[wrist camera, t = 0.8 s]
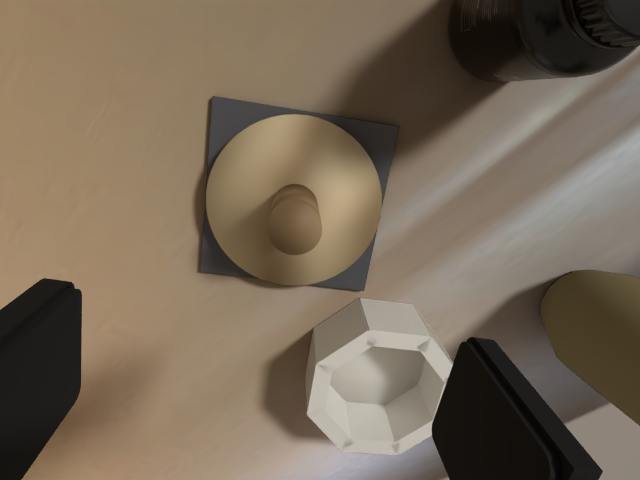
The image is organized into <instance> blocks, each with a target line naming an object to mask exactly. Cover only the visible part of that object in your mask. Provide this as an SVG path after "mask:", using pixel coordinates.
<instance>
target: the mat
mask: <svg viewBox="0 0 640 480" xmlns="http://www.w3.org/2000/svg"><path fill="white" fill-rule="evenodd" d="M284 114H301V115H309V116H313V117H318V118H321V119H323V120H326V121H329V122H331V123H333V124H335V125H336V126H338V127H340V128H342V129H343V130H344V131H346V132H347V133H348V134H350V135H351V136H352V137H353V138H354V139H355V140H356V141H357V142H358V143H359V144H360V145H361V146H362V147H363V149H364V150H365V151H366V152H367V154H368V155H369V157H370V159H371V161H372V162H373V164H374V167H375V169H376V171H377V174H378V178H379V181H380V185H381V193H382V204H383V199H384V194H385V190H386V185H387V180H388V176H389V171H390V166H391V162H392V157H393V152H394V148H395V143H396V138H397V134H398V129H399V127H398V126H393V125H387V124H380V123H374V122H368V121H362V120H356V119H350V118H344V117H338V116H332V115H325V114H319V113H313V112H307V111H301V110H295V109H289V108H283V107H277V106H270V105H264V104H258V103H252V102H246V101H240V100H234V99H228V98H222V97H215V96H212V111H211V125H210V140H209V154H208V169H207V183H208V179H209V176H210V172H211V170H212V168H213V165H214V163H215V161H216V159H217V158H218V156H219V154H220V153H221V151H222V150H223V149H224V147H225V146H226V145H227V144H228V143H229V142H230V141H231V140H232V139H233V138H234V137H235V136H236V135H237V134H238V133H240V132H241V131H243V130H244V129H246V128H247V127H249V126H250V125H252V124H254V123H256V122H258V121H260V120H263V119H266V118H269V117H273V116H278V115H284ZM207 183H206V191H207ZM376 232H377V230H376ZM376 232H375V235H374V237H373V239H372V241H371V242H370V244H369V246H368V248H367V249H366V250H365V251H364V253H363V254H362V255H361V256H360V257H359V258H358V259H357V260H356V261H355V262H354V263H353V264H352V265H351V266H350V267H348V268H347V269H346V270H344V271H343V272H341V273H339V274H338V275H336V276H334V277H332V278H329V279H327V280H324V281H321V282H318V283H313V284H308V285H317V286H325V287H333V288H342V289H350V290H358V291H364V288H365V283H366V279H367V274H368V269H369V265H370V260H371V255H372V251H373V246H374V241H375V236H376ZM200 272H208V273H216V274H225V275H233V276H241V277H250V278H257V277H255V276H253V275H251V274H249V273H248V272H246V271H244V270H243V269H242V268H240V267H239V266H238V265H236V264H235V263H234V262H233V261H232V260H231V259H230V258H229V257H228V256H227V255H226V253H225V252H224V251H223V250H222V248H221V247H220V245H219V244H218V242H217V240H216V238H215V237H214V234H213V232H212V229H211V227H210V224H209V220H208V216H207V209H206V198H205V212H204V226H203V241H202V255H201V270H200ZM258 279H260V278H258Z"/></svg>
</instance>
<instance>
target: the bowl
mask: <svg viewBox="0 0 640 480" xmlns="http://www.w3.org/2000/svg"><path fill="white" fill-rule="evenodd" d="M452 366H453V361H452V360H451V358H450V356H449V355H448V353H447V351H446V349H445V348H444V346H443V344H442V343H441V341H440V340H439V338H438V337H437V336H436V334H435V333H434V332H433V330H432V329H431V327H430V326H429V325H428V323H427V322H426V321H425V319H424V318H423V317H422V315H421V314H420V312H419V311H418V310H417V308H416V307H415V306H414V305H413V304H406V303H398V302H389V301H381V300H372V299H364V298H360V299H359V298H358V299H357V300H355V301H354V302H352V303H351V304H349V305H348V306H346V307H345V308H343V309H342V310H340V311H339V312H337V313H336V314H334V315H333V316H331V317H330V318H328V319H327V320H325V321H324V322H322V323H321V324H319V325H318V326H316V327H315V328H314V329H313V334H312V339H311V345H310V351H309V356H308V362H307V368H306V403H307V416H308V417H309V418H310V419H311V420H312V421H313V422H314V423H315V424H316V425H317V426H318V427H319V428H320V429H321V430H322V431H323V432H324V433H325V434H326V435H327V437H328V438H329V439H330V440H331V441H332V442H333V443H334V444H335V445H336V446H337V447H338V448H339V449H340V450H342V451H346V452H359V453H372V454H385V455H397V454H398V455H399V454H401V453H403V452H405V451H406V450H408V449H410V448H412V447H413V446H415V445H417V444H418V443H420V442H422V441H424V440H425V439H427V438H429V437H430V436H432V423H433V420H434V417H435V414H436V411H437V408H438V406H439V403H440V400H441V397H442V394H443V391H444V389H445V386H446V383H447V380H448V377H449V374H450V372H451V369H452Z"/></svg>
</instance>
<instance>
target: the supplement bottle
mask: <svg viewBox="0 0 640 480" xmlns="http://www.w3.org/2000/svg"><path fill="white" fill-rule="evenodd" d="M449 40H450V44H451V48H452V51H453V53H454V55H455V57H456V59H457V61H458V62H459V63H460V65H461V66H462V67H463V68H464V69H465V70H466V71H467V72H468V73H470V74H471V75H473V76H475V77H477V78H479V79H482V80H486V81H492V82H507V81H522V80H538V79H554V78H569V77H579V76H585V75H591V74H594V73H598V72H600V71H603V70H605V69H607V68H609V67H611V66H613V65H615V64H617V63H618V62H620V61H621V60H623V59H624V58H626V57H627V56H628V55H629V54H631V53H632V52H633V51H634V50H635V49H636V48H637V47H638V46H639V45H640V0H454V2H453V5H452V8H451V12H450V17H449Z"/></svg>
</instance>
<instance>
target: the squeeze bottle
mask: <svg viewBox="0 0 640 480" xmlns="http://www.w3.org/2000/svg"><path fill="white" fill-rule="evenodd" d="M540 314H541V318H542V321H543V324H544V327H545V329H546V332H547V334H548V337H549V339H550V342H551V344H552V347H553V349H554V352H555V354H556V357H557V358H558V359H559V360H560V361H561V362H562V363H563V364H564V365H565V366H567V367H568V368H569V369H570V370H571V371H572V372H574V373H575V374H576V375H577V376H578V377H580V378H581V379H582V380H583V381H585V382H586V383H587V384H588V385H590V386H591V387H592V388H593V389H595V390H596V391H597V392H598V393H600V394H601V395H602V396H603V397H605V398H606V399H607V400H608V401H610V402H611V403H612V404H613V405H615V406H616V407H617V408H618V409H620V410H621V411H622V412H623V413H625V414H626V415H627V416H628V417H629V418H631V419H632V420H633V421H635V422H636V423H637V424H638V425H639V426H640V279H639V278H637V277H634V276H631V275H624V274H617V273H610V272H603V271H596V270H578V271H574V272H572V273H569V274H567V275H564V276H562V277H561V278H559V279H558V280H557V281H556V282H555V283H554V284H552V285H551V286H550V287H549V289H548V290H547V292H546V294H545V295H544V297H543V299H542V303H541V309H540Z"/></svg>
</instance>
